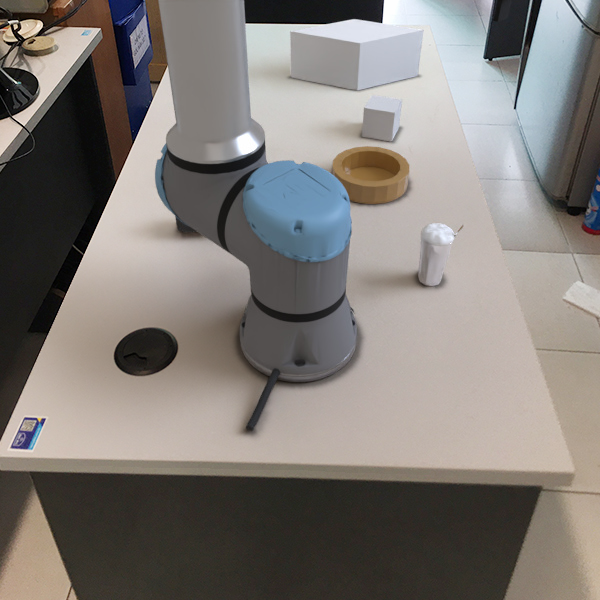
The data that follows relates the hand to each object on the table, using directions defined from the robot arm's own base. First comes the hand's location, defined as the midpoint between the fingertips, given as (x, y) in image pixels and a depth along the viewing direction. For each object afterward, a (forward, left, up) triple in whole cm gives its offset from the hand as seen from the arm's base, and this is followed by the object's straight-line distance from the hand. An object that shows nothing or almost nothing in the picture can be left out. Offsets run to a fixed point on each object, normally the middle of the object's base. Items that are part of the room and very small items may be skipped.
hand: (461, 8), depth 96 cm
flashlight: (-39, +13, -28) cm, 49 cm away
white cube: (+3, +15, -28) cm, 32 cm away
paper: (+20, +36, -28) cm, 49 cm away
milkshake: (-27, -18, -28) cm, 42 cm away
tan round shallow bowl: (-13, +5, -27) cm, 31 cm away
